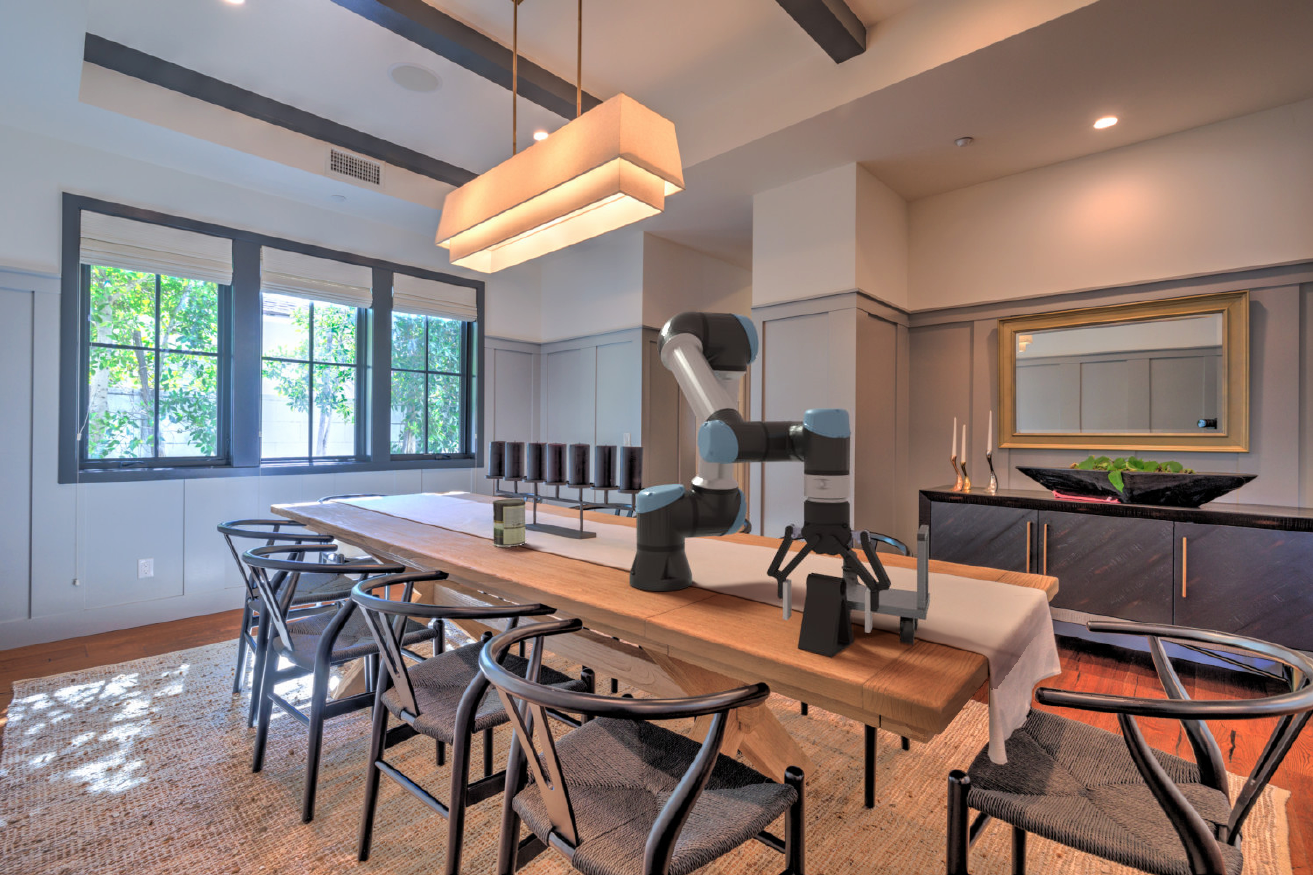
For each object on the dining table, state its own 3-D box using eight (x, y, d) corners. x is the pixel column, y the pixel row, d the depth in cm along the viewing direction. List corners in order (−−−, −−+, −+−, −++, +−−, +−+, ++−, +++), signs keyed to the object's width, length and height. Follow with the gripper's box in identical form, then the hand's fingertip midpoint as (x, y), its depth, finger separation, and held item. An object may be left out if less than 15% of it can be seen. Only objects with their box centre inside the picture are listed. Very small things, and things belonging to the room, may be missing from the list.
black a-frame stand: (831, 658, 94) (831, 584, 94) (797, 648, 98) (797, 577, 98) (854, 642, 101) (854, 573, 101) (821, 634, 105) (821, 568, 105)
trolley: (816, 633, 106) (816, 527, 105) (831, 613, 117) (831, 517, 117) (925, 650, 97) (925, 535, 97) (930, 627, 109) (930, 524, 108)
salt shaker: (829, 600, 126) (829, 544, 126) (851, 596, 128) (851, 542, 128) (848, 607, 121) (848, 549, 120) (870, 604, 123) (870, 547, 123)
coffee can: (487, 547, 185) (487, 502, 185) (500, 540, 195) (500, 498, 195) (518, 547, 183) (518, 503, 183) (530, 541, 194) (530, 499, 193)
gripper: (749, 497, 102) (749, 618, 102) (903, 506, 90) (903, 643, 90) (762, 493, 108) (762, 607, 109) (908, 500, 97) (908, 628, 97)
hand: (826, 623), depth 99 cm, fingers open, 13 cm apart
